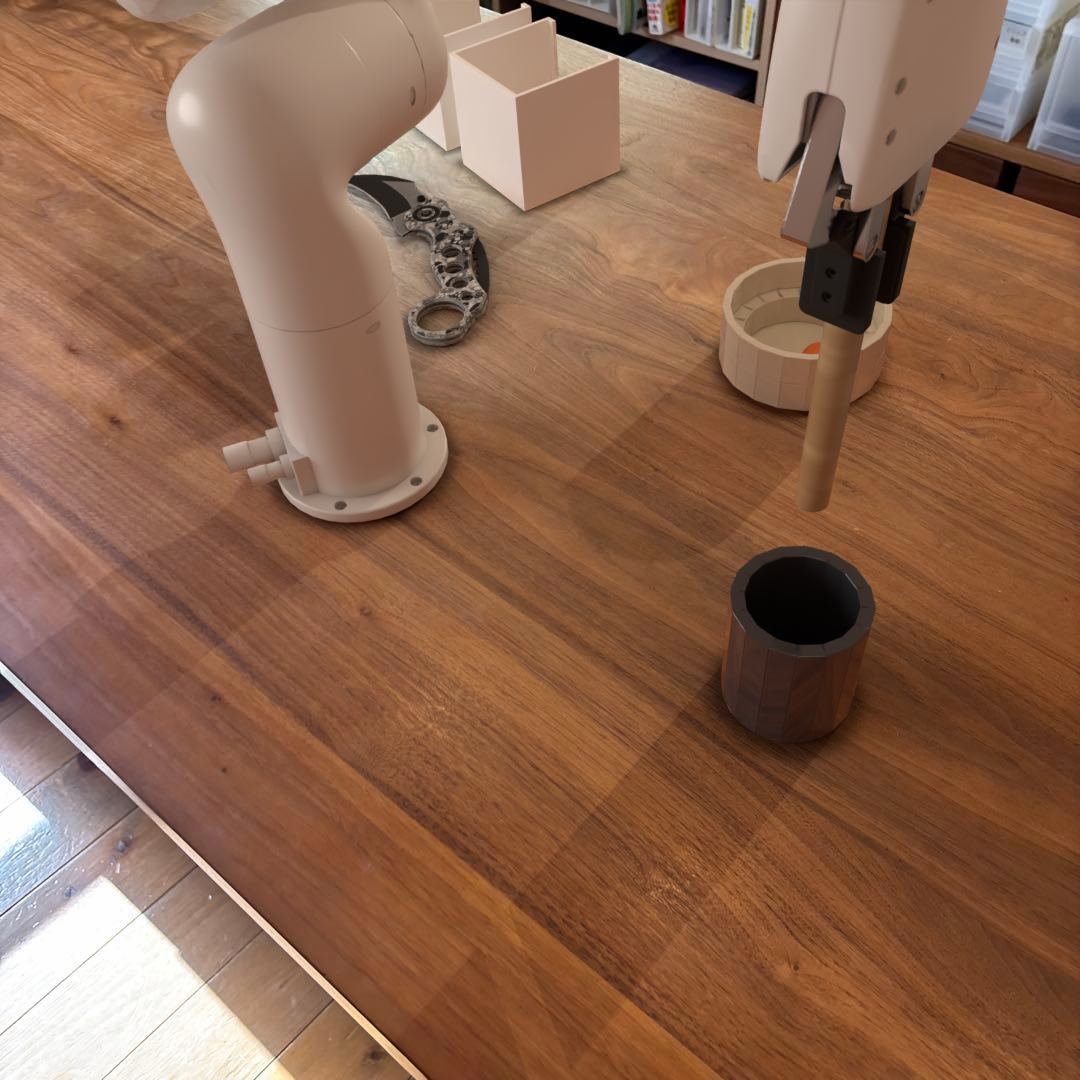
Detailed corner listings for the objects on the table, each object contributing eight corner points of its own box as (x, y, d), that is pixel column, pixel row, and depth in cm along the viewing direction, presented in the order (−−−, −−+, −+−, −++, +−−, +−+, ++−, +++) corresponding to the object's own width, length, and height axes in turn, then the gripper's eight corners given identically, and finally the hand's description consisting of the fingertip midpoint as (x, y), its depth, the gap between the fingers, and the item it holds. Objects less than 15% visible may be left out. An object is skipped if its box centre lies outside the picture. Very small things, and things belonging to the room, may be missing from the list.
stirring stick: (805, 516, 57) (862, 208, 44) (788, 493, 58) (838, 186, 45) (835, 506, 57) (902, 197, 44) (818, 483, 59) (877, 176, 45)
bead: (811, 394, 82) (813, 360, 80) (790, 374, 84) (792, 341, 82) (846, 383, 83) (850, 348, 81) (825, 363, 85) (827, 329, 83)
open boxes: (393, 110, 117) (375, 3, 109) (481, 77, 120) (470, -29, 112) (524, 211, 102) (515, 97, 94) (620, 170, 106) (618, 57, 98)
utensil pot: (759, 766, 63) (774, 676, 56) (698, 665, 68) (706, 572, 61) (875, 720, 65) (903, 627, 58) (808, 624, 70) (826, 529, 63)
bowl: (767, 435, 81) (774, 377, 77) (692, 340, 89) (694, 283, 84) (912, 388, 83) (926, 329, 79) (826, 299, 91) (835, 241, 87)
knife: (332, 173, 107) (431, 144, 108) (336, 187, 108) (434, 158, 109) (404, 348, 89) (521, 311, 90) (408, 362, 90) (524, 326, 91)
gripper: (941, -256, 40) (859, 196, 54) (695, -115, 33) (673, 369, 46) (1153, -227, 37) (1007, 247, 51) (933, -63, 29) (833, 443, 43)
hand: (848, 303), depth 48 cm, fingers closed on stirring stick, 1 cm apart
